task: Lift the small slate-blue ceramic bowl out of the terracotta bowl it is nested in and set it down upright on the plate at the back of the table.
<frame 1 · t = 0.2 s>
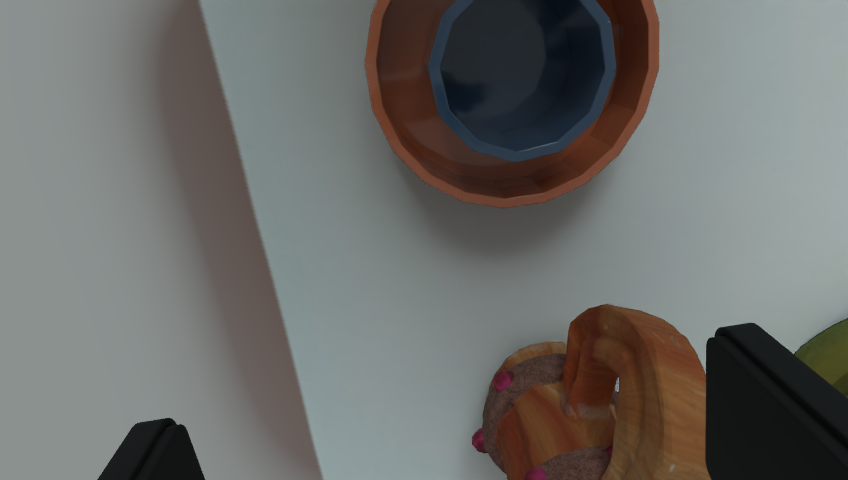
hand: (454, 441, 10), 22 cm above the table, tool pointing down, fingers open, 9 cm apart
fruit: (831, 369, 37), on the table
small bowl: (500, 61, 29), resting on big bowl
mug: (548, 351, 36), on the table
big bowl: (498, 61, 29), on the table
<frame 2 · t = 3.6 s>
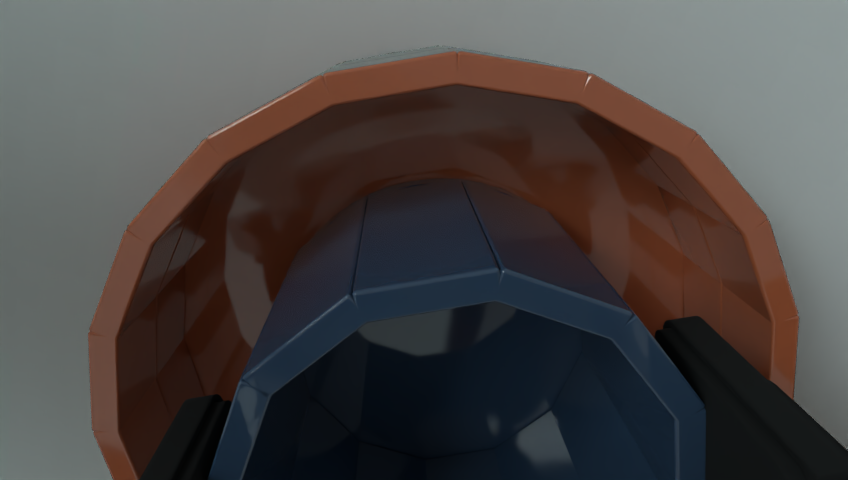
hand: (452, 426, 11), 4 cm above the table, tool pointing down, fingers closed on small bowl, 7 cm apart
small bowl: (438, 330, 14), point 1 cm above the table, touching big bowl, gripper
big bowl: (437, 320, 15), on the table
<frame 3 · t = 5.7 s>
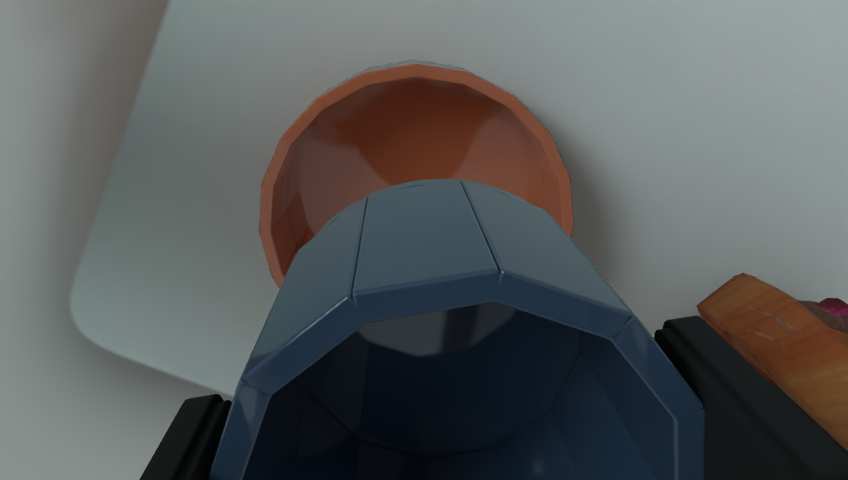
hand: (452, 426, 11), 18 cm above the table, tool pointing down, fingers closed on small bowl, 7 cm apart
small bowl: (438, 330, 14), point 14 cm above the table, touching gripper
mug: (723, 314, 31), on the table
big bowl: (415, 202, 28), on the table
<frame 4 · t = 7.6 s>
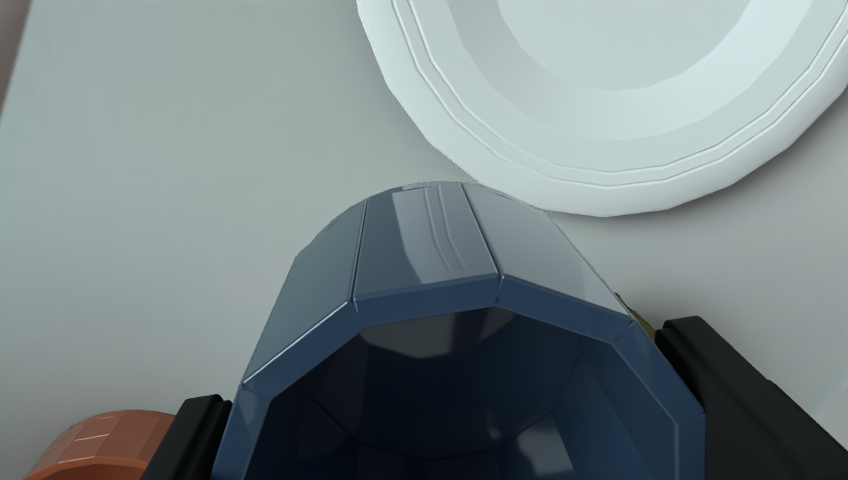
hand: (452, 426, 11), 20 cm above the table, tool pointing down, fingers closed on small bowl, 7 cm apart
small bowl: (438, 332, 14), point 17 cm above the table, touching gripper
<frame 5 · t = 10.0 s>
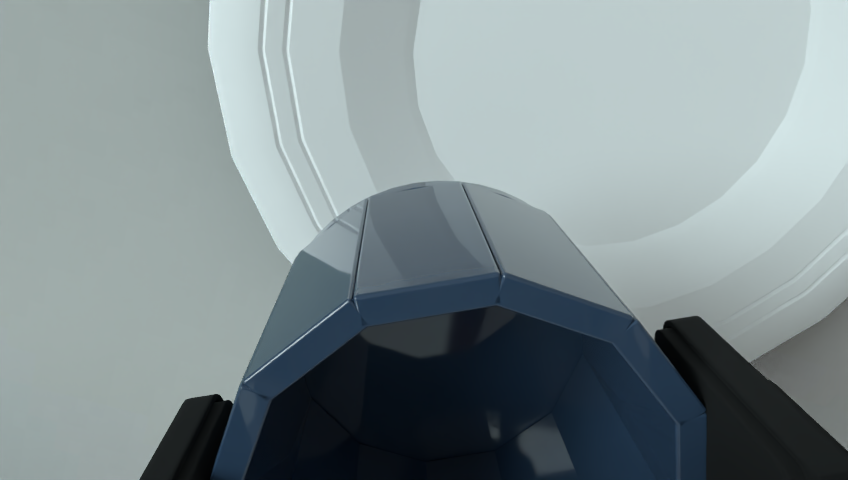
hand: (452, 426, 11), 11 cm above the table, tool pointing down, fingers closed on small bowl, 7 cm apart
plate: (601, 57, 20), on the table
small bowl: (439, 332, 14), point 8 cm above the table, touching gripper
when the fingers open (6 cm above the table, at t = 11.8 s): small bowl stays where it is, resting on plate.
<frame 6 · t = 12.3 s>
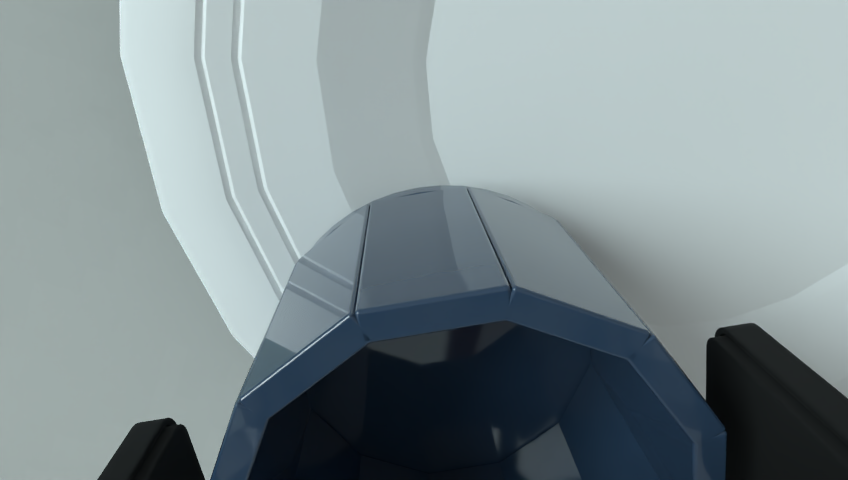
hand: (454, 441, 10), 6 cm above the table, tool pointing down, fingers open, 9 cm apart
plate: (691, 67, 14), on the table, touching small bowl
small bowl: (443, 340, 14), point 2 cm above the table, touching plate
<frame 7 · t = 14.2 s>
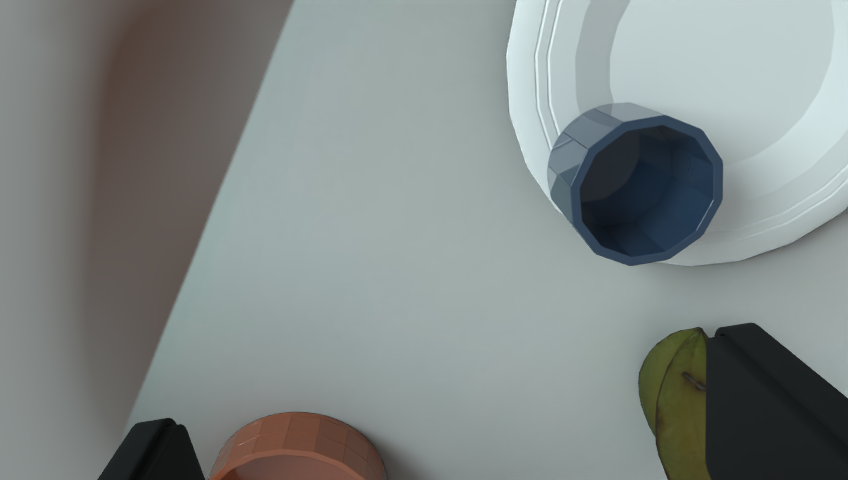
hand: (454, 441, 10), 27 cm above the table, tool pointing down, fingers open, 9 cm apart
plate: (712, 57, 34), on the table, touching small bowl
fruit: (682, 389, 42), on the table
small bowl: (611, 168, 34), point 2 cm above the table, touching plate
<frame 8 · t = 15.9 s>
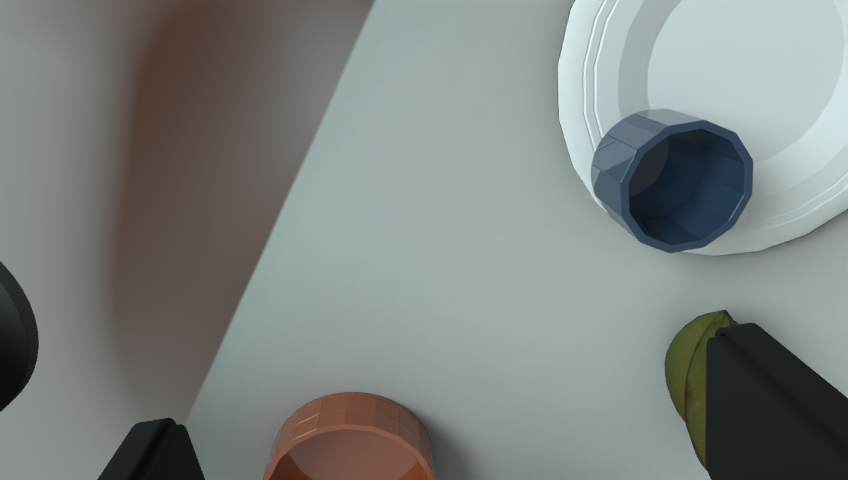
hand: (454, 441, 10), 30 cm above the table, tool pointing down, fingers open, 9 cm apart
plate: (736, 69, 38), on the table, touching small bowl
fruit: (704, 369, 46), on the table
small bowl: (647, 167, 38), point 2 cm above the table, touching plate
big bowl: (353, 459, 47), on the table
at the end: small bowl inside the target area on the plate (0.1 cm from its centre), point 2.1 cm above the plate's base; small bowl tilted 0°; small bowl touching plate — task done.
